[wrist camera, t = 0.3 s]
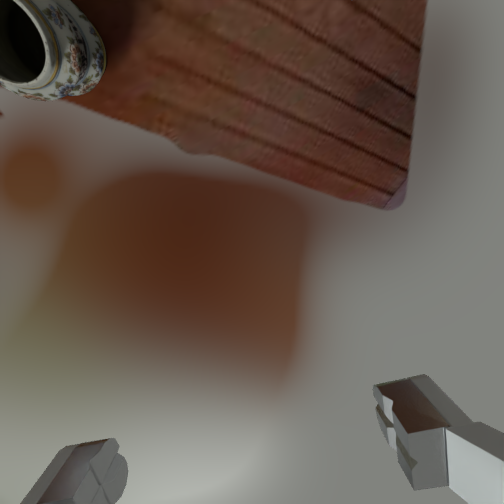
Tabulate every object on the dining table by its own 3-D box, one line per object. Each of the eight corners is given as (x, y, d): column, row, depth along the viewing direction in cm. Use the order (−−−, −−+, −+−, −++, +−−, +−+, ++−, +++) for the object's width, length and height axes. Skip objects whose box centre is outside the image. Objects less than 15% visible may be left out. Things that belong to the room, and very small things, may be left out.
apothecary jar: (111, 10, 38) (58, -19, 24) (115, 100, 45) (76, 119, 31) (14, -22, 35) (-114, -78, 21) (34, 80, 42) (-52, 91, 27)
